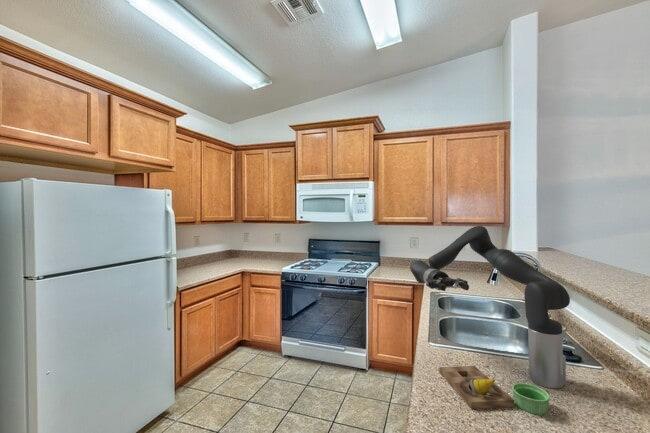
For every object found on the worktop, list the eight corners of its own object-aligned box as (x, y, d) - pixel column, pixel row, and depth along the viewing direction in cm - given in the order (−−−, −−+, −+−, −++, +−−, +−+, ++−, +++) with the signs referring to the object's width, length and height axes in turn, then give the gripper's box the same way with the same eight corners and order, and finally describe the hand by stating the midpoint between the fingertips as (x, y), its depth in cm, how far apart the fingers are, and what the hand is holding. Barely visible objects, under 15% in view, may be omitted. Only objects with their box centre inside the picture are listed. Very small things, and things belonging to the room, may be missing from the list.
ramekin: (531, 418, 81) (530, 402, 81) (505, 399, 90) (504, 384, 90) (558, 414, 82) (557, 398, 83) (530, 395, 91) (529, 381, 91)
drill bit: (476, 389, 95) (501, 376, 90) (478, 405, 91) (504, 393, 86) (462, 379, 95) (486, 366, 90) (463, 394, 91) (489, 382, 86)
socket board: (474, 371, 106) (474, 365, 106) (514, 406, 86) (514, 399, 86) (439, 372, 105) (439, 367, 105) (471, 409, 85) (471, 402, 85)
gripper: (452, 287, 122) (475, 297, 106) (419, 288, 121) (436, 298, 105) (452, 269, 122) (475, 277, 106) (419, 270, 121) (436, 277, 105)
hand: (456, 287), depth 106 cm, fingers open, 8 cm apart
